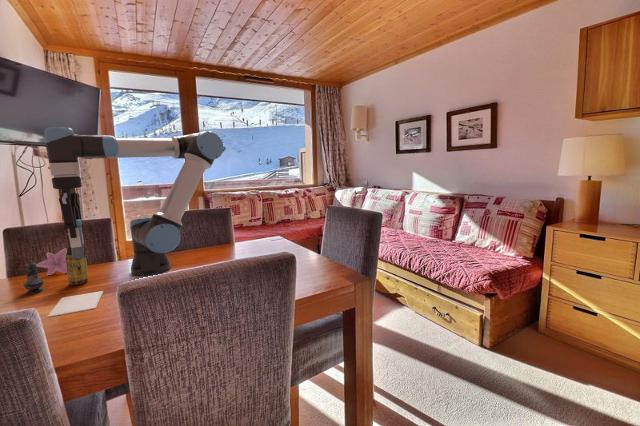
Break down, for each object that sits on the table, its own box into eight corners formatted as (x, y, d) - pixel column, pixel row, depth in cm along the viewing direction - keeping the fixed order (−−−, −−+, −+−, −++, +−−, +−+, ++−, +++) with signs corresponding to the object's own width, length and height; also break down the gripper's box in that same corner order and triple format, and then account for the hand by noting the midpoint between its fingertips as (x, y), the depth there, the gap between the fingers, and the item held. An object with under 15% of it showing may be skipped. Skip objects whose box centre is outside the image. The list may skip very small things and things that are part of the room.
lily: (33, 278, 136) (30, 262, 131) (53, 260, 146) (50, 244, 141) (64, 284, 138) (62, 268, 133) (81, 266, 148) (80, 251, 143)
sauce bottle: (65, 286, 122) (57, 235, 119) (76, 280, 128) (68, 232, 125) (83, 285, 123) (75, 234, 120) (93, 279, 129) (86, 231, 126)
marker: (84, 256, 111) (81, 219, 110) (84, 258, 109) (81, 220, 107) (71, 257, 109) (68, 219, 108) (71, 259, 107) (68, 221, 105)
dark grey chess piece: (21, 295, 114) (16, 263, 112) (27, 290, 119) (22, 259, 118) (43, 292, 117) (37, 260, 115) (47, 287, 122) (42, 256, 120)
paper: (103, 291, 116) (103, 290, 116) (95, 308, 101) (95, 307, 101) (62, 298, 110) (61, 297, 110) (47, 317, 96) (47, 316, 96)
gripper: (59, 176, 111) (70, 242, 114) (42, 177, 96) (56, 253, 100) (85, 175, 114) (95, 239, 117) (73, 176, 99) (85, 249, 103)
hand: (77, 245), depth 108 cm, fingers closed on marker, 3 cm apart
